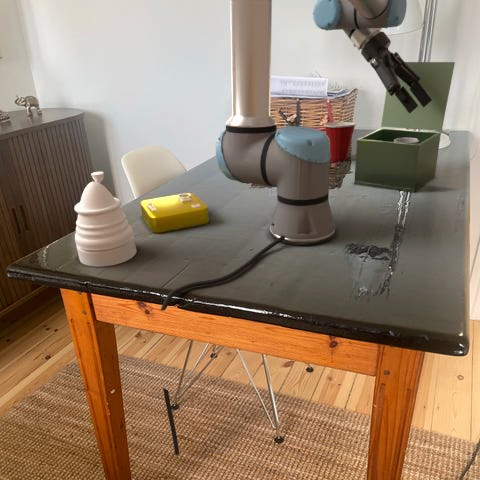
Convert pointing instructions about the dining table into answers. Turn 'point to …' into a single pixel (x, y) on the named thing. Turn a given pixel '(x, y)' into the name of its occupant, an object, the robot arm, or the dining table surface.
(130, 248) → the honey pot
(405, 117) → the lid
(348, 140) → the plastic cup
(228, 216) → the dining table surface
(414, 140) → the tumbler
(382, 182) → the green open box
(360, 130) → the dining table surface
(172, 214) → the yellow box
